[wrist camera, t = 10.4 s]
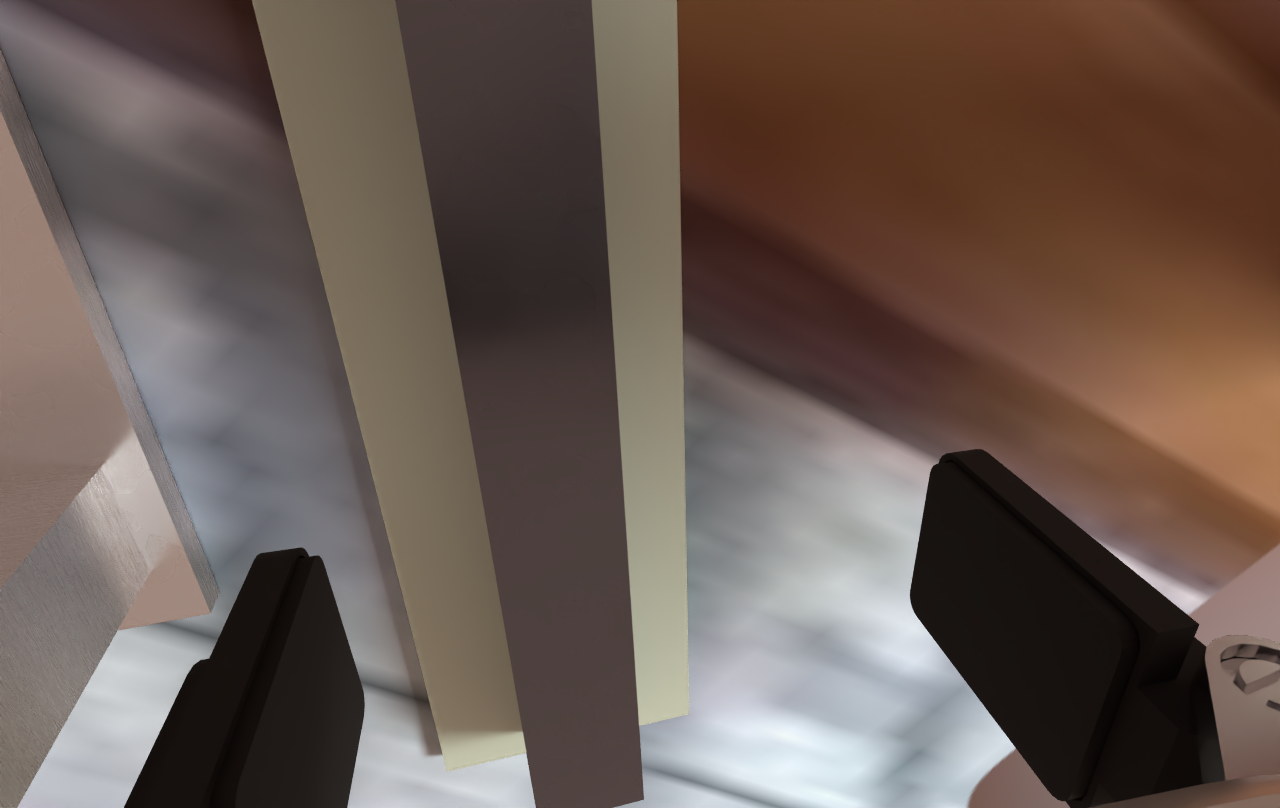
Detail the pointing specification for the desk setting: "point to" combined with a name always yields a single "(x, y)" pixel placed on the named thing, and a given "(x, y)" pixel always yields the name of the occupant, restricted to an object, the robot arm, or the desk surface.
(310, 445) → the desk surface
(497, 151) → the rail
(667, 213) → the mat
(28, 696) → the rack
